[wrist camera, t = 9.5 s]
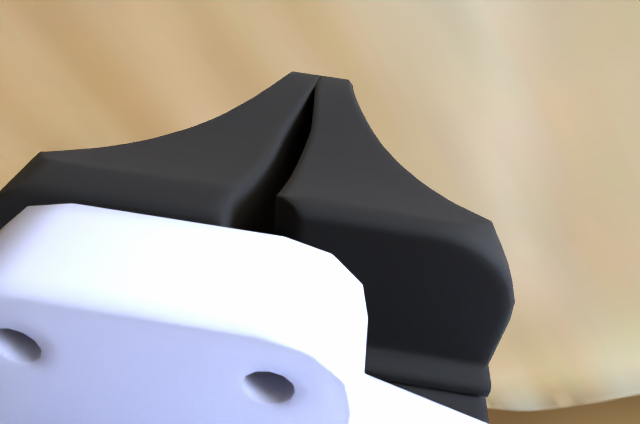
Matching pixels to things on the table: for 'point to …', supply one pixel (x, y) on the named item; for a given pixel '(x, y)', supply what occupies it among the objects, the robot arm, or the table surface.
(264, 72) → the table surface
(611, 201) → the table surface
